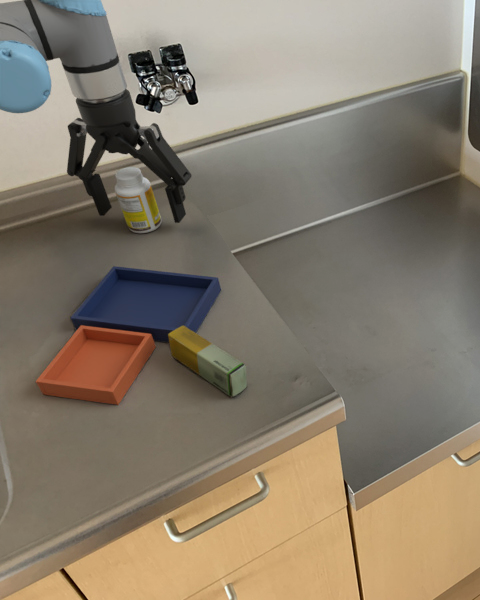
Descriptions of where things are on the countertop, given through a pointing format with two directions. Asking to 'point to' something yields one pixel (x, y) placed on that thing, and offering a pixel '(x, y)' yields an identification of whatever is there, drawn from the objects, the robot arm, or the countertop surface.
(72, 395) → the terracotta tray
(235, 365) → the medication box
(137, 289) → the navy tray
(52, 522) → the countertop surface
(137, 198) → the supplement bottle
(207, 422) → the countertop surface
